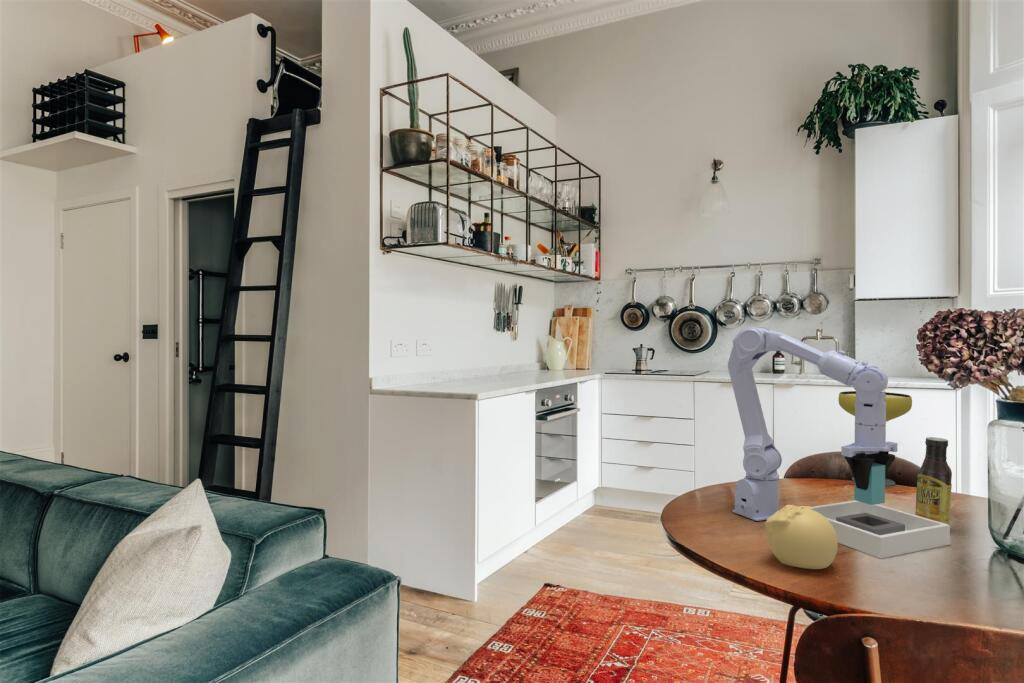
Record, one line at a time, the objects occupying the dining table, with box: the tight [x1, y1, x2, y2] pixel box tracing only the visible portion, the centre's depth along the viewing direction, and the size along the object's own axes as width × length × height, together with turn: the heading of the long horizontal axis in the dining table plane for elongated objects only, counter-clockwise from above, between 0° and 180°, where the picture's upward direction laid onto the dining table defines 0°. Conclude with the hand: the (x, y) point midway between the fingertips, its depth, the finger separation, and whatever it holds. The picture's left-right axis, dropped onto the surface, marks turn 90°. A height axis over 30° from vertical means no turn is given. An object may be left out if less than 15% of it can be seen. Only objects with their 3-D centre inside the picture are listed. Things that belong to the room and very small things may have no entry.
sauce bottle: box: [914, 436, 953, 525], centre depth 134 cm, size 7×6×20 cm
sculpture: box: [764, 504, 839, 570], centre depth 115 cm, size 11×12×11 cm
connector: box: [853, 463, 886, 505], centre depth 131 cm, size 4×4×8 cm
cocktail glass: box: [837, 390, 913, 487], centre depth 176 cm, size 18×18×25 cm
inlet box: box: [810, 500, 951, 559], centre depth 130 cm, size 20×20×4 cm
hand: (869, 487), depth 131 cm, fingers closed on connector, 4 cm apart
